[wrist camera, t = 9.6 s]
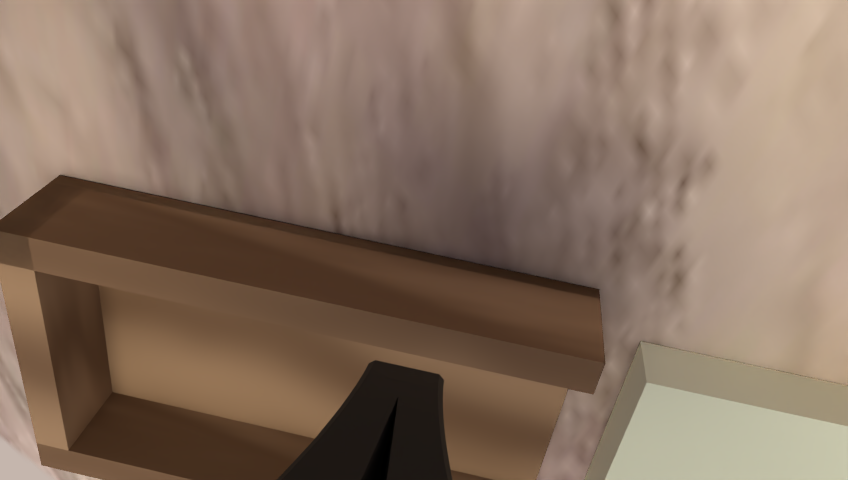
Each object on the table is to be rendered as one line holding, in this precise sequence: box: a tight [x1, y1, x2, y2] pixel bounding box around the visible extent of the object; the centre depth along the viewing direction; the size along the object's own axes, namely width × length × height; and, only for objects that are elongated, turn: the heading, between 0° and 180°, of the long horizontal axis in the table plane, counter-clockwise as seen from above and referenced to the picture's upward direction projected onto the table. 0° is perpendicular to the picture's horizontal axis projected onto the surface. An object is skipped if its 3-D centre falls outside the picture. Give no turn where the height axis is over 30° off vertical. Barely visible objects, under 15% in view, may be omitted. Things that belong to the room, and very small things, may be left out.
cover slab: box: [584, 341, 848, 480], centre depth 24 cm, size 7×8×2 cm
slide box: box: [0, 175, 605, 480], centre depth 24 cm, size 10×18×4 cm, turn 82°
